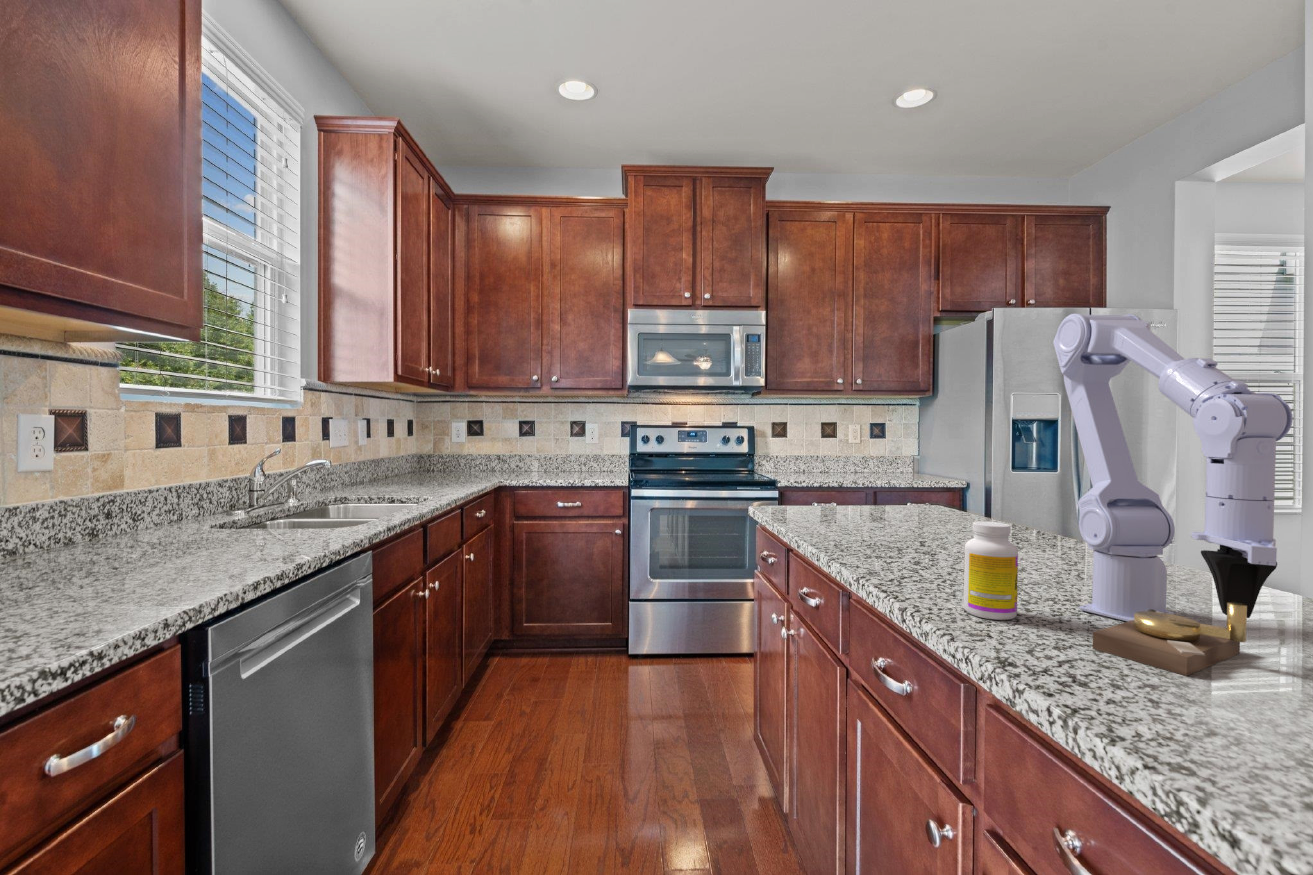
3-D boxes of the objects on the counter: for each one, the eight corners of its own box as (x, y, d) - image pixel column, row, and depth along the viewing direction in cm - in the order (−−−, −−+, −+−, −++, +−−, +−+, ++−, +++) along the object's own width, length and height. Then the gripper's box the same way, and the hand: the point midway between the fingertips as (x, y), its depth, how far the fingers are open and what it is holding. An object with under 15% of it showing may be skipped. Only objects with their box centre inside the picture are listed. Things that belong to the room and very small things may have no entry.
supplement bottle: (1024, 623, 82) (1026, 528, 81) (971, 619, 83) (973, 526, 83) (1006, 608, 88) (1008, 521, 88) (957, 605, 90) (959, 519, 89)
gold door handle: (1132, 632, 72) (1133, 594, 71) (1135, 620, 76) (1136, 584, 76) (1248, 653, 65) (1249, 611, 65) (1243, 638, 70) (1244, 599, 70)
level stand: (1148, 630, 79) (1149, 603, 79) (1246, 655, 71) (1247, 624, 71) (1092, 648, 72) (1093, 618, 72) (1194, 678, 64) (1195, 644, 64)
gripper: (1176, 490, 78) (1173, 595, 78) (1214, 502, 65) (1211, 627, 65) (1249, 493, 75) (1246, 603, 75) (1305, 506, 62) (1301, 638, 62)
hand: (1235, 615), depth 70 cm, fingers closed
